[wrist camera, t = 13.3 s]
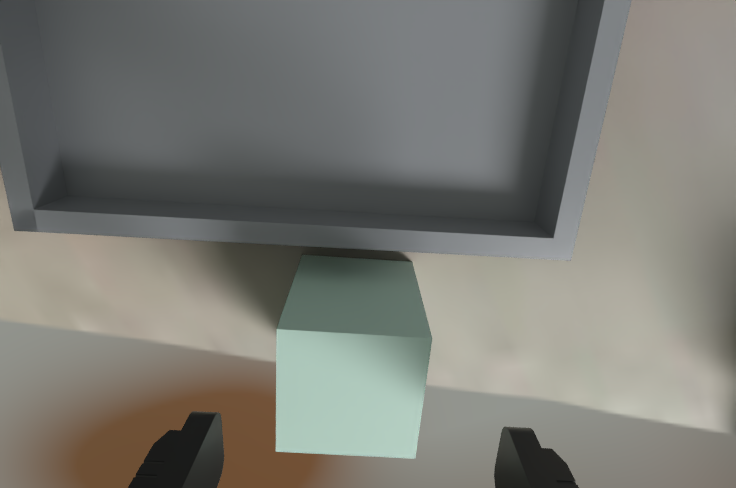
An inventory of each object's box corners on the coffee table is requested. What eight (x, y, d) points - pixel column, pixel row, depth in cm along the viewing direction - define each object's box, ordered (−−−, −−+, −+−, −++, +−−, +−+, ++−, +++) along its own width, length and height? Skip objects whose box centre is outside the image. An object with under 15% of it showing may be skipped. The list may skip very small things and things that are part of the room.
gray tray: (622, -137, 14) (673, -178, 12) (544, 237, 19) (570, 260, 16) (-12, -190, 14) (-89, -244, 11) (59, 210, 18) (14, 230, 16)
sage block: (412, 261, 19) (432, 338, 14) (401, 355, 21) (415, 458, 15) (302, 254, 19) (276, 329, 13) (299, 349, 21) (275, 451, 15)
